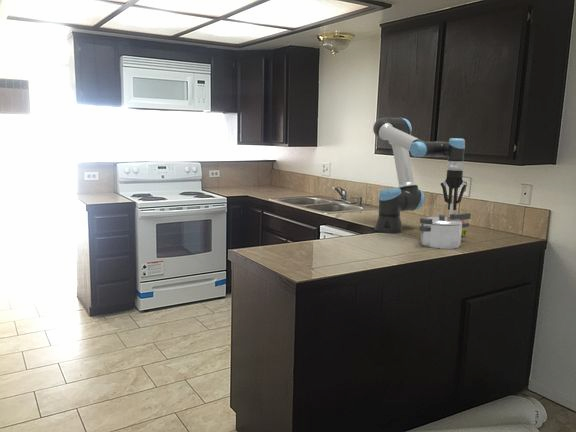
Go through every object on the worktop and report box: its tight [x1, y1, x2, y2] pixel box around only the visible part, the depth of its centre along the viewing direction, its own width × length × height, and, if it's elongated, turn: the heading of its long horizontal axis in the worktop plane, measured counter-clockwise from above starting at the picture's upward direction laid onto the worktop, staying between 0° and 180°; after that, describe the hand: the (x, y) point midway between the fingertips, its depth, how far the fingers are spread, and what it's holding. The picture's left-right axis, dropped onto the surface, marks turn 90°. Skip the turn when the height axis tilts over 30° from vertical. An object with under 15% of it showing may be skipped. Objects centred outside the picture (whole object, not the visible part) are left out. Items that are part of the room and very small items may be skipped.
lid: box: [419, 212, 472, 225], centre depth 243 cm, size 31×19×3 cm, turn 121°
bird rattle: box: [461, 220, 468, 237], centre depth 264 cm, size 6×11×9 cm
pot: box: [418, 222, 470, 250], centre depth 244 cm, size 18×29×11 cm, turn 117°
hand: (451, 216), depth 252 cm, fingers closed
